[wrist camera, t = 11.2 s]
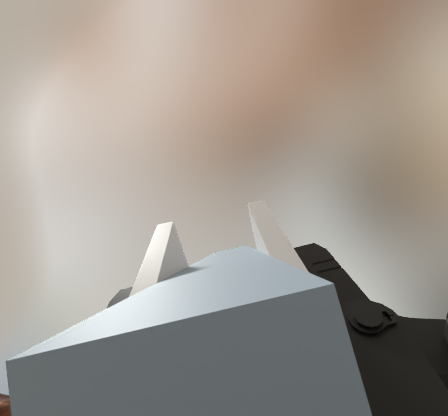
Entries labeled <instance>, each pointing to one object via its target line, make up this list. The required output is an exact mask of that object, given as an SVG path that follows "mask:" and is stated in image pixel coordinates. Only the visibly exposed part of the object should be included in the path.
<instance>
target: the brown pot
mask: <svg viewBox="0 0 448 416" xmlns="http://www.w3.org/2000/svg"><path fill="white" fill-rule="evenodd" d="M0 416H12V414H11V405H10V396H9V395H5V394H1V393H0Z"/></svg>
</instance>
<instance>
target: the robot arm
mask: <svg viewBox="0 0 448 416" xmlns="http://www.w3.org/2000/svg"><path fill="white" fill-rule="evenodd" d="M247 205H248V210H249V215H250V220H251V224H252V228H253V234H254V238H255V244H256V248H257V250H258V251H260V252H262V253H264V254H267V255H269V256H272V257H274V258H276V259H279V260H281V261H283V262H286V263H288V264H290V265H292V266H295V267H297V268H299V269H302V270H304V271H306V272H309V273H311V274H313V275H316V276H318V277H320V278H322V279H325V280H327V281H329V282H332V283H334V285H335V289H336V292H337V296H338V299H339V303H340V306H341V310H342V313H343V317H344V320H345V323H346V327H347V330H348V334H349V337H350V341H351V344H352V348H353V351H354V355H355V358H356V361H357V365H358V368H359V372H360V375H361V379H362V382H363V386H364V389H365V393H366V396H367V399H368V403H369V406H370V410H371V413H372V416H448V314H447V317H446V320H443V319H419V318H408V317H402V316H398V315H397V314H396V313H395V312H394V311H393V310H391V309H390V308H388V307H386V306H384V305H383V304H380V303H376V302H373V301H370V300H369V299H368V297H367V296H366V295H365V294H364V293H363V292H362V290H360V288H359V287H358V286H357V284H356V283H355V282H354V281H353V280H352V279H351V277H350V276H349V275H348V274H347V273H346V272H345V270H344V269H343V268H341V266H340V265H339V263H338V262H337V261H336V260H335V259H334V257H333V256H332V255H331V254H330V253H329V252H328V251H327V250H326V249H325V248H323V247H321V246H319V245H317V244H315V243H313V244H308V245H304V246H300V247H296V248H293V246H292V245H291V243H290V242H289V240H288V239H287V237H286V235H285V234H284V232H283V230H282V229H281V227H280V226H279V224H278V223H277V221H276V219H275V218H274V216H273V215H272V213H271V211H270V210H269V208H268V207H267V205H266V203H265V202H264V200H260V201H256V202H251V203H248V204H247ZM187 267H189V266H188V263H187V261H186V258H185V255H184V252H183V249H182V246H181V243H180V240H179V237H178V234H177V231H176V228H175V225H174V222H173V221H172V222H168V223H164V224H160V225H157V228H156V230H155V232H154V235H153V237H152V240H151V242H150V245H149V248H148V250H147V253H146V255H145V258H144V261H143V263H142V265H141V268H140V270H139V273H138V275H137V278H136V280H135V283H134V286H133V287H131V288H127V289H122V290H120V291H119V292H118V293H117V294H116V295H115V296H114V298H113V299H112V300H111V301H110V303H109V305H108V307H107V308H109V307H111V306H113V305H115V304H117V303H119V302H121V301H123V300H125V299H126V298H128V297H130V296H132V295H134V294H136V293H138V292H140V291H142V290H144V289H146V288H148V287H150V286H152V285H154V284H155V283H158V282H160V281H162V280H164V279H165V278H167V277H169V276H171V275H173V274H175V273H177V272H179V271H181V270H183V269H185V268H187Z"/></svg>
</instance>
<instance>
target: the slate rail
mask: <svg viewBox="0 0 448 416" xmlns="http://www.w3.org/2000/svg"><path fill="white" fill-rule="evenodd" d="M6 369H7V377H8V387H9V396H10V405H11V414H12V416H372V413H371V410H370V406H369V403H368V399H367V396H366V393H365V389H364V386H363V382H362V379H361V375H360V372H359V368H358V365H357V361H356V358H355V355H354V351H353V348H352V344H351V341H350V337H349V334H348V330H347V327H346V323H345V320H344V317H343V313H342V310H341V306H340V303H339V299H338V296H337V292H336V289H335V285H334V283H332V282H329V281H327V280H325V279H322V278H320V277H318V276H316V275H313V274H311V273H309V272H306V271H304V270H302V269H299V268H297V267H295V266H292V265H290V264H288V263H286V262H283V261H281V260H279V259H276V258H274V257H272V256H269V255H267V254H264V253H262V252H260V251H258V250H255V249H253V248H251V247H248V246H246V245H245V246H241V247H237V248H232V249H228V250H225V251H220V252H216V253H214V254H212V255H210V256H208V257H206V258H204V259H202V260H200V261H198V262H196V263H194V264H192V265H190V266H189V267H187V268H185V269H183V270H181V271H179V272H177V273H175V274H173V275H171V276H169V277H167V278H165V279H164V280H162V281H160V282H158V283H155V284H154V285H152V286H150V287H148V288H146V289H144V290H142V291H140V292H138V293H136V294H134V295H132V296H130V297H128V298H126V299H125V300H123V301H121V302H119V303H117V304H115V305H113V306H111V307H109V308H107V309H105V310H103V311H102V312H99V313H98V314H96V315H94V316H92V317H90V318H88V319H86V320H84V321H82V322H80V323H78V324H76V325H74V326H72V327H71V328H69V329H67V330H65V331H63V332H61V333H59V334H57V335H55V336H53V337H51V338H49V339H47V340H46V341H43V342H41V343H39V344H37V345H36V346H34V347H32V348H30V349H28V350H26V351H24V352H22V353H20V354H18V355H16V356H14V357H12V358H10V359H9V360H7V361H6Z"/></svg>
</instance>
